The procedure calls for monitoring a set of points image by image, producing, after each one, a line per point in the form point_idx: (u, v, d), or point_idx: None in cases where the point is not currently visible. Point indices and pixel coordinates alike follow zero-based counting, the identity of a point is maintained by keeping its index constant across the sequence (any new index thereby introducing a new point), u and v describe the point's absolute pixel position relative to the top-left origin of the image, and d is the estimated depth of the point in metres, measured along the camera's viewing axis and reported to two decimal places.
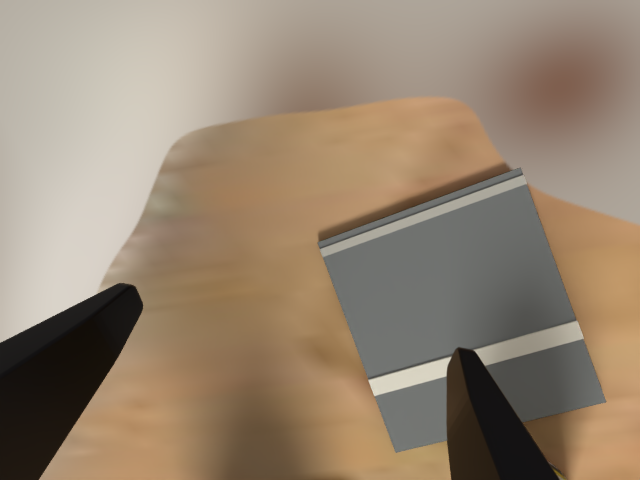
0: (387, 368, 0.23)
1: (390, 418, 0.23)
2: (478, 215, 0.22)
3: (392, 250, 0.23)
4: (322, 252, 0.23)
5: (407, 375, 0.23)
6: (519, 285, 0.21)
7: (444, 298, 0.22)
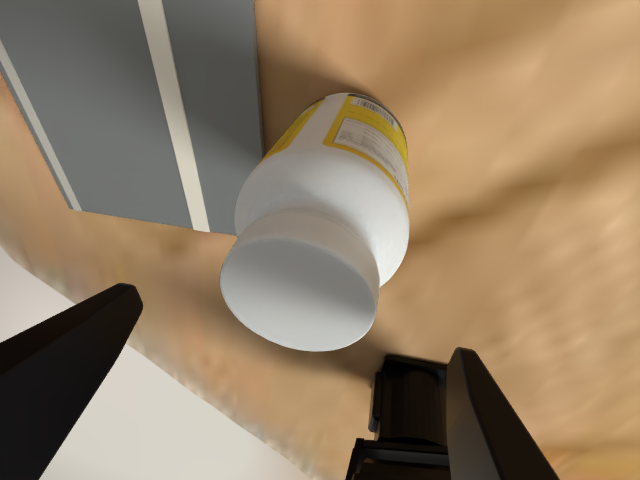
0: (185, 209, 0.23)
1: (234, 229, 0.23)
2: (19, 53, 0.19)
3: (69, 154, 0.22)
4: (77, 209, 0.25)
5: (191, 198, 0.22)
6: (94, 41, 0.17)
7: (114, 129, 0.20)
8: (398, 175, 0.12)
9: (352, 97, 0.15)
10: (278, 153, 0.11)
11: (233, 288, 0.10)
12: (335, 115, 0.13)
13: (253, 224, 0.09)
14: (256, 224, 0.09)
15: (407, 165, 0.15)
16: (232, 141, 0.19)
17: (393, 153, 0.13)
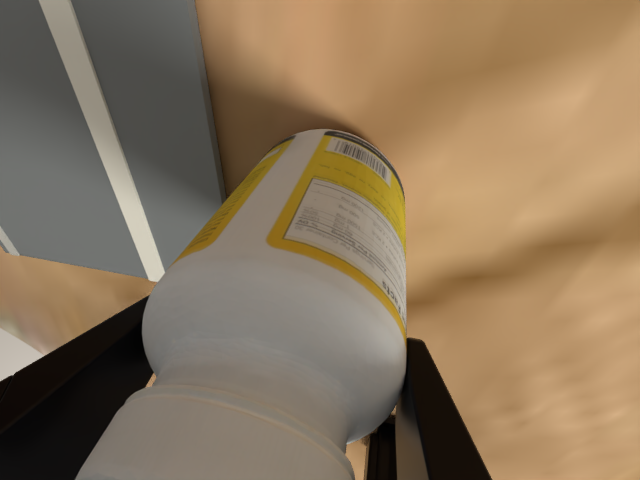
0: (137, 258, 0.19)
1: None
2: None
3: None
4: (13, 253, 0.21)
5: (142, 246, 0.18)
6: None
7: (41, 166, 0.16)
8: (390, 275, 0.08)
9: (330, 138, 0.11)
10: (197, 254, 0.07)
11: None
12: (299, 174, 0.09)
13: (129, 409, 0.05)
14: (131, 415, 0.05)
15: (404, 232, 0.11)
16: (184, 184, 0.15)
17: (383, 233, 0.09)
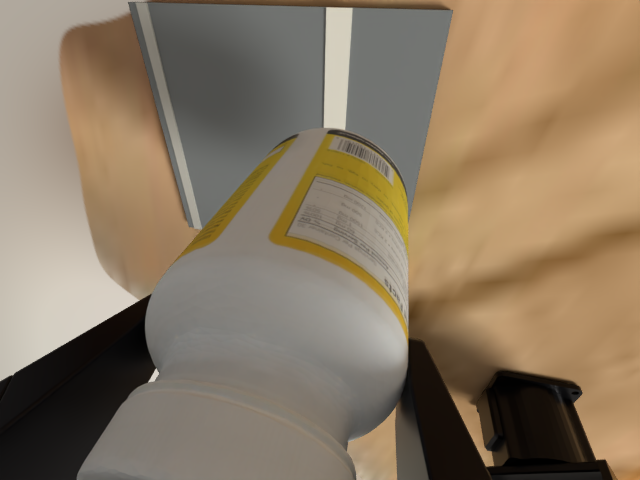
0: None
1: None
2: (179, 75, 0.19)
3: (204, 173, 0.22)
4: (197, 227, 0.25)
5: None
6: (265, 63, 0.17)
7: (261, 148, 0.20)
8: (392, 272, 0.08)
9: (333, 136, 0.11)
10: (200, 251, 0.07)
11: None
12: (302, 172, 0.09)
13: (132, 403, 0.05)
14: (133, 409, 0.05)
15: (407, 231, 0.11)
16: None
17: (385, 231, 0.09)
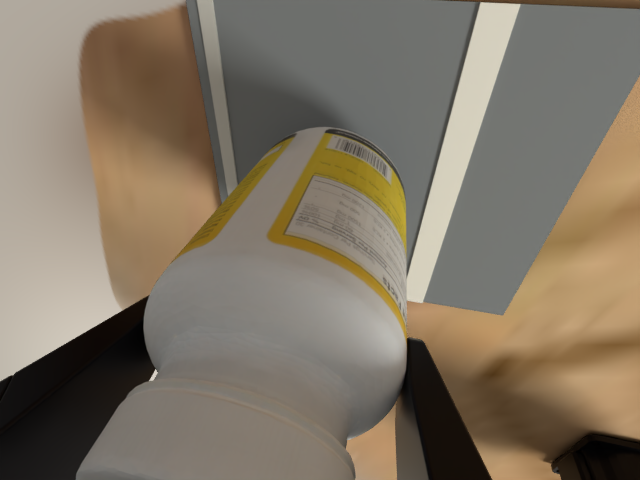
0: None
1: (459, 301, 0.18)
2: (244, 90, 0.14)
3: None
4: None
5: (419, 266, 0.17)
6: (370, 77, 0.13)
7: None
8: (390, 271, 0.08)
9: (330, 135, 0.11)
10: (198, 250, 0.07)
11: None
12: (299, 171, 0.09)
13: (131, 402, 0.05)
14: (132, 408, 0.05)
15: (405, 229, 0.11)
16: (520, 204, 0.14)
17: (383, 229, 0.09)
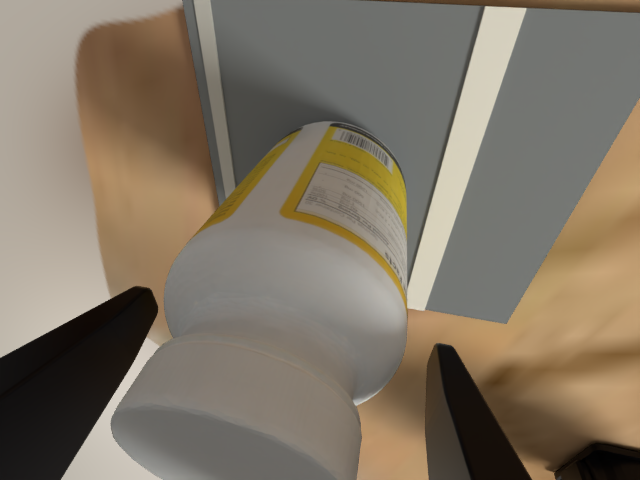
0: None
1: (462, 310, 0.18)
2: (243, 95, 0.14)
3: None
4: None
5: (420, 274, 0.17)
6: (372, 82, 0.12)
7: None
8: (392, 248, 0.08)
9: (335, 128, 0.12)
10: (216, 225, 0.07)
11: (135, 447, 0.06)
12: (307, 158, 0.10)
13: (160, 355, 0.06)
14: (162, 358, 0.06)
15: (406, 216, 0.12)
16: (524, 212, 0.14)
17: (385, 212, 0.09)
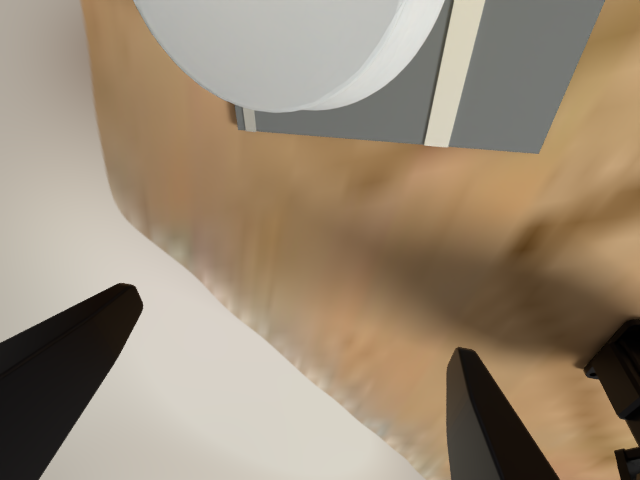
0: (423, 113, 0.17)
1: (489, 140, 0.17)
2: None
3: None
4: (250, 129, 0.19)
5: (445, 91, 0.16)
6: None
7: None
8: None
9: None
10: None
11: None
12: None
13: None
14: None
15: None
16: None
17: None
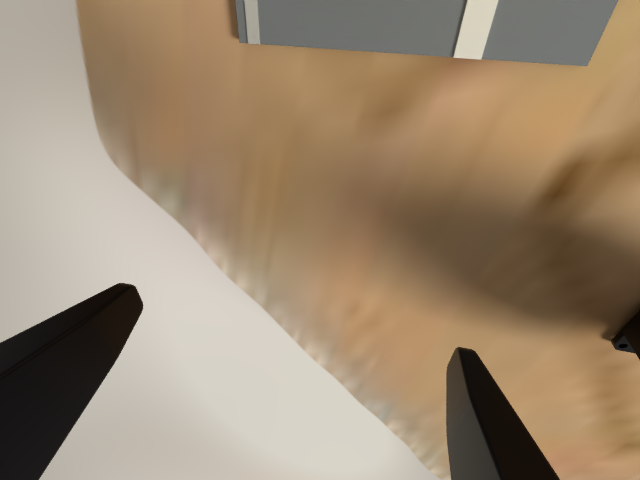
0: (455, 15, 0.14)
1: (530, 49, 0.14)
2: None
3: None
4: (253, 41, 0.16)
5: None
6: None
7: None
8: None
9: None
10: None
11: None
12: None
13: None
14: None
15: None
16: None
17: None
